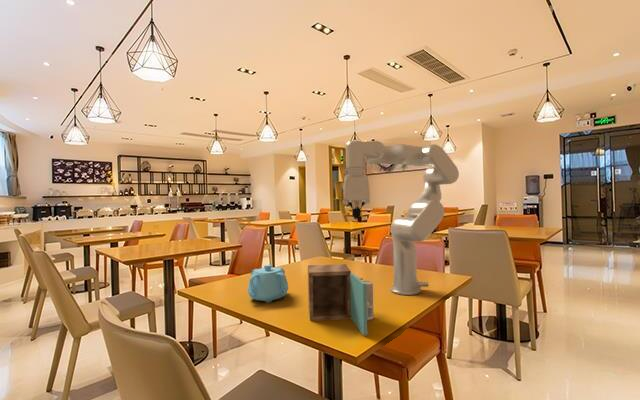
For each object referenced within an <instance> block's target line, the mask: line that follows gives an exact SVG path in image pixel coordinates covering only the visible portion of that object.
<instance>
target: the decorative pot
mask: <svg viewBox="0 0 640 400" xmlns="http://www.w3.org/2000/svg"><path fill="white" fill-rule="evenodd" d="M285 274H286V273H285V269H284V268H282V267H272V265H271V264H264V265H263V268H262V267H261V268H255V269H252V271H251V273H250V278H249V280H248V284H247V294H248V296H249V297H250V298H251V299H252V300H254V299H255V300H254V301H259V302H260V301H263V302H265V303H266V302H270V303H272V302H273V301H274V300H279V299H283V298H284V296H286V295H287V293H288V291H289V283H288V279H287V276H286V275H285ZM282 297H283V298H282Z"/></svg>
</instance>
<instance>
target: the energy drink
mask: <svg viewBox="0 0 640 400" xmlns="http://www.w3.org/2000/svg"><path fill="white" fill-rule="evenodd" d="M362 281H363V282H365V283H366V295H367V301H369V303H370V307H367V322H368V321H372V320H374V284H373V282H372V281H371V280H362Z"/></svg>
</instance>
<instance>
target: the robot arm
mask: <svg viewBox="0 0 640 400" xmlns="http://www.w3.org/2000/svg"><path fill="white" fill-rule="evenodd" d="M366 163H368V164H369V163H370V164H385V165H386V164H387V165H404V166H405V165H407V166H413V167H414V166H415V167H425V166H430V167H427V168H426V169H425V170H424V172H423V175H422V181H423V185H424V186H423V190H422V191H421V193H420V195H418V196H417V198H416V199H414V201H413V202H412V203H411V205H410V206H409V208H408V209H407V215H408V216H399V217H396V218H394V220H392V222H391V225H390V233H391V239H392V245H393V246H392V247H393V249H392V250H393V285H391V286H390V289H389V290H390V291H391V292H392V293H393V294H397V295H402V296H404V295H405V296H413V295H418V294H420V293H421V292H422V290H421V288H422V287H427V288H428V287H429V282H428V281H422V280H420V281H419V280H418V275H417V273H418V270H417V268H418V266H417V265H418V264H417V262H418V261H417V256H418V255H417V246H416V242H417V243H418V242H419V243H420V242H423V241H425V240H426V239H427V238H429V237H430V235H431V234H432V233H433V232H434V230H435V229H436V228H437V227H438V226H439V225H440V223H442V221H443V219H444V215H445V208H444V205H443V203H441V200H442V191H441V186H440V185H451V184H454V183H457V181H458V180H459V175H460V173H459V169H458V167H457V165H456V163H454V162H453V160H452V158H450V156H449V155H448V153H447V152H446V151H445V150H444V148H443V147H441V146H440V145H438V144H429V145H428V144H427V145H423V146H419V145H412V144H402V143H399V144H398V143H397V144H391V145H385V144H384V143H383V142H382V141H378V140H369V141H362V140H350V141H347V142H346V143H345V169H342V174H345V175H344V178H343V187H342V188H343V190H342V196H343V197H342V198H343V200H342V204H343V205H347V206H349V207H350V208H351V211H352V212H351V213H352V214H351V215H352V217H353V219H354V220H355V219H357V220H360V218H361V217H362V216H361V213H362V212H361V209H362V207H364V206H365V205H367V204H370V203H371V201H370V199H371V198H370V197H371V194H370V193H371V192H370V183H369V177H368V175H366ZM355 202H357V203H355ZM356 204H357V205H356Z"/></svg>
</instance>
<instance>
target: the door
mask: <svg viewBox="0 0 640 400" xmlns="http://www.w3.org/2000/svg"><path fill="white" fill-rule="evenodd" d="M360 278H361V277H360ZM360 278H359V276H357V275H356V274H355V273H352V272H351V273H350V297H351V319H350V320H352V322H353V323H354V324H355V326H356V327H357V329H358V330H359V331H360V332H361V334H362V335H363V336H364V337H365V336H368V321H367V307H370V303H369V301H367V295H366V283H365V282H363V281H364V280H361V279H360Z"/></svg>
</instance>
